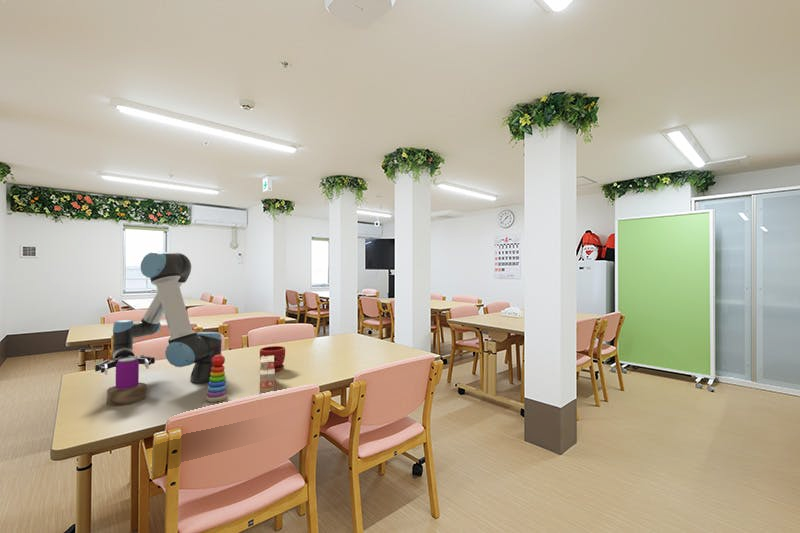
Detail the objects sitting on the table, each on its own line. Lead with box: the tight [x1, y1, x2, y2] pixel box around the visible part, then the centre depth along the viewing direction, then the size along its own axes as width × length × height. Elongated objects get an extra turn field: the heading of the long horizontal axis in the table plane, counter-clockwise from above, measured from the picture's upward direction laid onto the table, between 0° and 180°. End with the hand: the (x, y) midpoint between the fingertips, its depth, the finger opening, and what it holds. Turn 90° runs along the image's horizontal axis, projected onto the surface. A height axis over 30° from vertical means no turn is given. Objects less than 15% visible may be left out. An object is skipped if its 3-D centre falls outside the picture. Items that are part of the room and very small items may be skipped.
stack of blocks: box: [259, 356, 276, 395], centre depth 167 cm, size 21×6×12 cm, turn 20°
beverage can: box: [115, 356, 140, 390], centre depth 149 cm, size 8×8×12 cm
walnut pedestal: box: [106, 382, 147, 407], centre depth 149 cm, size 13×13×5 cm
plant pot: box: [259, 345, 286, 373], centre depth 193 cm, size 13×13×12 cm
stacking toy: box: [205, 354, 228, 403], centre depth 151 cm, size 8×8×19 cm
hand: (127, 368), depth 147 cm, fingers open, 13 cm apart
